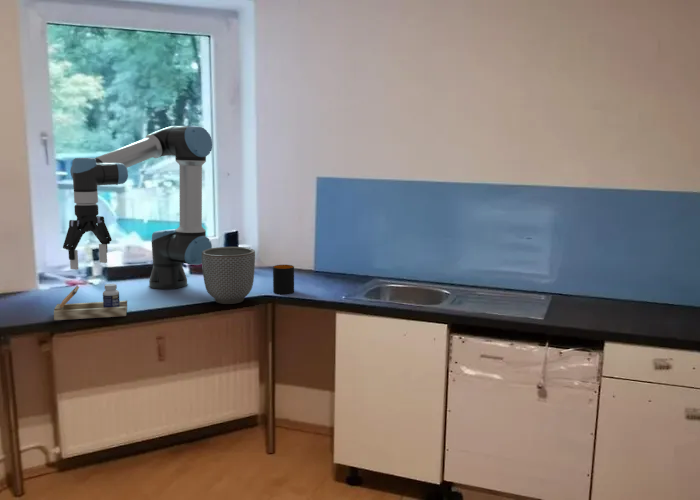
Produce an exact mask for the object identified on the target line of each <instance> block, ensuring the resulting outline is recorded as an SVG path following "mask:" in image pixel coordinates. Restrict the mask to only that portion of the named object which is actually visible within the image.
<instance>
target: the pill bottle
mask: <svg viewBox="0 0 700 500" xmlns="http://www.w3.org/2000/svg"><path fill="white" fill-rule="evenodd" d="M117 285H118V284H116V283H106V284H104V291H102V302H103V308H107V307H120V301H121V300H120V292H119V289H117V287H118V286H117Z"/></svg>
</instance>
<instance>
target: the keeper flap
mask: <svg viewBox="0 0 700 500" xmlns="http://www.w3.org/2000/svg"><path fill="white" fill-rule="evenodd" d="M79 288H80V287H79V286H78V285H76V287H74V288H73V290H71V291H70V292H69V293H68V294H67V296H65V298H63V299H62V301H61V303H59V304H60V307H61V308H62V307H63V306H64V305H65V304H68V302H69V301H70V300H71V299H72V298H73V297H74V296H75V295H76V294H77V292H78V290H79Z"/></svg>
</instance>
